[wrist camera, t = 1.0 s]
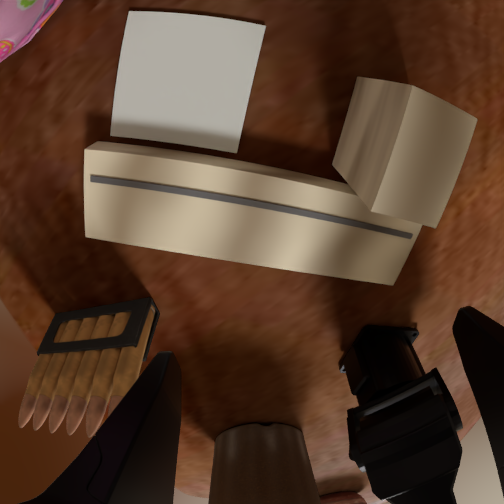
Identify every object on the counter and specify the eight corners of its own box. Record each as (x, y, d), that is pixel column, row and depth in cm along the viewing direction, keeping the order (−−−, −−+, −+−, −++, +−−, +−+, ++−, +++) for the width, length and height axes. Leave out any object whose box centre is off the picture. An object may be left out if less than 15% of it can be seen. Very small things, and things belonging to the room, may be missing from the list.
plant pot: (342, 430, 39) (362, 532, 26) (263, 465, 45) (269, 550, 32) (256, 399, 33) (264, 537, 20) (179, 441, 39) (172, 543, 26)
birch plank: (414, 202, 21) (427, 215, 19) (384, 270, 24) (393, 286, 22) (97, 141, 18) (83, 149, 16) (96, 223, 21) (85, 237, 19)
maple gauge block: (411, 97, 17) (477, 119, 11) (384, 179, 20) (435, 228, 14) (357, 76, 17) (412, 85, 11) (331, 164, 20) (370, 211, 14)
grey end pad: (265, 26, 15) (265, 25, 15) (236, 152, 19) (237, 153, 19) (130, 12, 14) (129, 11, 14) (111, 134, 18) (110, 135, 18)
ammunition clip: (151, 296, 25) (116, 432, 15) (160, 313, 26) (132, 445, 16) (55, 313, 26) (5, 419, 16) (64, 327, 27) (20, 432, 17)
